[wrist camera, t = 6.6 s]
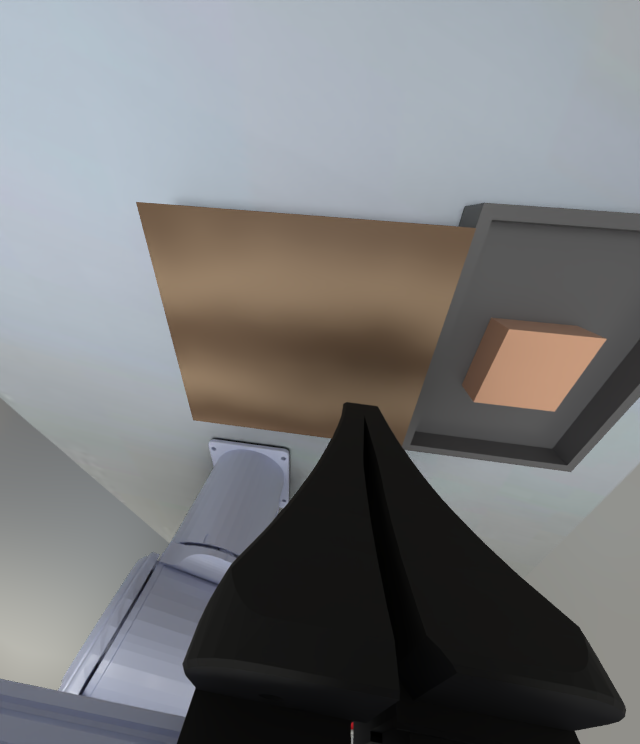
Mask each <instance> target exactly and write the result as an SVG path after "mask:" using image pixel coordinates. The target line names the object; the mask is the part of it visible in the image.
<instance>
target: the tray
mask: <svg viewBox="0 0 640 744" xmlns="http://www.w3.org/2000/svg"><path fill="white" fill-rule="evenodd" d="M459 227H469V228H476V230H475V233H474V236H473V239H472V242H471V245H470V248H469V251H468V254H467V257H466V260H465V263H464V266H463V269H462V271H461V274H460V277H459V280H458V283H457V286H456V289H455V292H454V295H453V298H452V301H451V304H450V307H449V310H448V313H447V315H446V318H445V321H444V324H443V327H442V330H441V333H440V336H439V339H438V342H437V345H436V348H435V351H434V354H433V357H432V360H431V362H430V365H429V368H428V371H427V374H426V377H425V380H424V383H423V386H422V389H421V392H420V395H419V398H418V401H417V404H416V406H415V409H414V412H413V415H412V418H411V421H410V424H409V427H408V430H407V433H406V436H405V439H404V442H403V445H402V447H403V449H404V450H410V451H417V452H425V453H432V454H440V455H447V456H455V457H463V458H470V459H478V460H485V461H493V462H500V463H508V464H515V465H523V466H530V467H538V468H545V469H553V470H560V471H568V472H571V471H572V470H573V469H574V468H575V467H576V466H577V465H578V464H579V463H580V462H581V460H582V459H583V458H584V457H585V456H586V455H587V454H588V453H589V452H590V451H591V450H592V448H593V447H594V446H595V445H596V444H597V443H598V442H599V441H600V440H601V439H602V438H603V436H604V435H605V434H606V433H607V432H608V431H609V430H610V429H611V428H612V427H613V426H614V424H615V423H616V422H617V421H618V420H619V419H620V418H621V417H622V416H623V415H624V413H625V412H626V411H627V410H628V409H629V408H630V407H631V406H632V405H633V404H634V403H635V401H636V400H637V399H638V398H639V397H640V214H635V213H621V212H607V211H592V210H578V209H564V208H550V207H535V206H521V205H507V204H493V203H481V204H476V205H470V206H465V208H464V211H463V214H462V218H461V221H460V224H459ZM491 318H500V319H511V320H521V321H532V322H542V323H553V324H563V325H573V326H579V327H581V328H583V329H586V330H588V331H590V332H593V333H595V334H597V335H599V336H602V337H604V338H606V339H607V340H606V341H605V342H604V344H603V345H602V347H601V348H600V349H599V351H598V352H597V353H596V355H595V356H594V358H593V359H592V360H591V362H590V363H589V365H588V366H587V367H586V369H585V370H584V372H583V373H582V374H581V376H580V377H579V378H578V380H577V381H576V383H575V384H574V385H573V387H572V388H571V390H570V391H569V392H568V394H567V395H566V397H565V398H564V399H563V401H562V402H561V404H560V405H559V406H558V408H557V409H556V410H555V412H554V411H545V410H537V409H528V408H519V407H511V406H502V405H494V404H485V403H477V402H473V401H472V399H471V398H470V396H469V395H468V393H467V392H466V391H465V389H464V388H463V386H462V383H463V381H464V379H465V377H466V374H467V372H468V370H469V367H470V365H471V363H472V360H473V358H474V356H475V354H476V351H477V349H478V347H479V344H480V342H481V340H482V338H483V335H484V333H485V331H486V328H487V326H488V324H489V322H490V319H491Z"/></svg>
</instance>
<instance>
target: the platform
mask: <svg viewBox="0 0 640 744" xmlns="http://www.w3.org/2000/svg"><path fill="white" fill-rule="evenodd" d="M136 204H137V207H138V211H139V215H140V219H141V223H142V226H143V230H144V234H145V238H146V242H147V245H148V249H149V253H150V257H151V261H152V265H153V268H154V272H155V276H156V280H157V284H158V287H159V291H160V295H161V299H162V303H163V307H164V310H165V314H166V318H167V322H168V326H169V329H170V333H171V337H172V341H173V345H174V349H175V352H176V356H177V360H178V364H179V368H180V371H181V375H182V379H183V383H184V387H185V391H186V394H187V398H188V402H189V406H190V410H191V413H192V417H193V420H196V421H204V422H211V423H219V424H226V425H234V426H241V427H249V428H256V429H264V430H271V431H279V432H287V433H294V434H302V435H309V436H317V437H324V438H332V437H333V435H334V432H335V430H336V428H337V426H338V423H339V421H340V418H341V415H342V409H343V404H344V403H346V402H350V403H358V404H365V405H373V406H378V408H379V409H380V411H381V413H382V414H383V416H384V418H385V420H386V422H387V423H388V425H389V427H390V428H391V430H392V432H393V433H394V435H395V437H396V438H397V440H398V441H399V443H400V444H401V446H402V445H403V442H404V439H405V436H406V433H407V430H408V427H409V424H410V421H411V418H412V415H413V412H414V409H415V406H416V404H417V401H418V398H419V395H420V392H421V389H422V386H423V383H424V380H425V377H426V374H427V371H428V368H429V365H430V362H431V360H432V357H433V354H434V351H435V348H436V345H437V342H438V339H439V336H440V333H441V330H442V327H443V324H444V321H445V318H446V315H447V313H448V310H449V307H450V304H451V301H452V298H453V295H454V292H455V289H456V286H457V283H458V280H459V277H460V274H461V271H462V269H463V266H464V263H465V260H466V257H467V254H468V251H469V248H470V245H471V242H472V239H473V236H474V233H475V230H476V228H469V227H456V226H443V225H429V224H416V223H403V222H390V221H377V220H364V219H351V218H338V217H325V216H312V215H298V214H285V213H272V212H259V211H246V210H233V209H220V208H207V207H194V206H181V205H168V204H154V203H141V202H136Z"/></svg>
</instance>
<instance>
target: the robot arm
mask: <svg viewBox="0 0 640 744" xmlns="http://www.w3.org/2000/svg"><path fill="white" fill-rule="evenodd" d="M208 445H209V449H210V453H211V457H212V462H213V466H214V468H213V470H212V471H211V473H210V475H209V477H208V478H207V480H206V482H205V484H204V485H203V487H202V489H201V491H200V492H199V494H198V496H197V497H196V499H195V501H194V503H193V504H192V506H191V508H190V510H189V511H188V513H187V515H186V517H185V518H184V520H183V522H182V523H181V525H180V527H179V529H178V530H177V532H176V534H175V536H174V537H173V539H172V541H171V542H170V543H169V545H168V546H167V548H166V549H165V551H164V552H163V554H162V555H161V557H160V558H159V560H158V561H157V559H158V557H159V554H157V553H155V552H152V553H150V554H149V555H148V556H145V557H143V558H141V559H139V560H138V561H137V563H136V564H135V565H134V567H133V568H132V570H131V571H130V573H129V575H128V576H127V577H126V579H125V580H124V582H123V583H122V585H121V586H120V588H119V590H118V591H117V593H116V594H115V596H114V597H113V599H112V600H111V602H110V603H109V605H108V607H107V608H106V610H105V611H104V613H103V614H102V616H101V618H100V619H99V621H98V622H97V624H96V625H95V627H94V629H93V630H92V632H91V633H90V635H89V636H88V638H87V640H86V641H85V643H84V644H83V646H82V648H81V649H80V651H79V652H78V654H77V656H76V657H75V659H74V660H73V662H72V664H71V665H70V667H69V669H68V670H67V672H66V674H65V675H64V677H63V679H62V685H61V686H60V688H59V690H58V691H57V690H52V689H47V688H42V687H38V686H33V685H28V684H23V683H18V682H13V681H9V680H4V679H0V744H351V723H352V722H353V744H580V742H579V740H578V738H577V736H576V733H575V730H581V729H586V728H591V727H597V726H603V725H608V724H612V723H615V722H619V721H620V720H622V719H623V718H624V717H625V712H626V709H625V705H624V703H623V701H622V699H621V698H620V696H619V694H618V692H617V691H616V689H615V687H614V685H613V684H612V682H611V680H610V678H609V677H608V675H607V673H606V671H605V670H604V668H603V666H602V664H601V663H600V661H599V659H598V657H597V656H596V654H595V652H594V651H593V649H592V647H591V646H590V644H589V642H588V641H587V639H586V637H585V636H584V634H583V633H582V631H581V629H580V628H579V627H578V626H577V625H576V624H575V623H574V622H573V621H571V620H570V619H569V618H568V617H567V616H565V615H564V614H563V613H562V612H561V611H560V610H559V609H557V608H556V607H555V606H554V605H553V604H552V603H550V602H549V601H548V600H547V599H546V598H545V597H543V596H542V595H541V594H540V593H539V592H538V591H536V590H535V589H534V588H533V587H532V586H531V585H529V584H528V583H527V582H526V581H525V580H524V579H522V578H521V577H520V576H519V575H518V574H517V573H516V572H515V571H514V570H512V569H511V568H510V567H509V566H508V565H507V564H506V563H505V562H504V561H503V560H502V559H501V558H500V557H499V556H497V555H496V554H495V553H494V552H493V551H492V550H491V549H490V548H489V547H488V546H487V545H486V544H485V543H484V542H483V541H482V540H481V539H480V538H479V537H478V536H477V535H476V534H475V533H474V532H473V531H472V530H471V529H470V528H469V527H468V526H467V525H466V524H465V523H464V522H463V521H462V520H461V519H460V518H459V517H458V516H457V515H456V514H455V513H454V512H453V511H452V510H451V508H450V507H449V506H448V505H447V504H446V503H445V502H444V501H443V500H442V499H441V497H440V496H439V495H438V494H437V493H436V491H435V490H434V489H433V488H432V487H431V485H430V484H429V483H428V482H427V481H426V479H425V478H424V477H423V475H422V474H421V473H420V471H419V470H418V469H417V467H416V466H415V465H414V463H413V462H412V461H411V459H410V458H409V456H408V455H407V453H406V452H405V451H404V449H403V447H402V446H401V444H400V443H399V441H398V440H397V438H396V437H395V435H394V433H393V432H392V430H391V428H390V427H389V425H388V423H387V422H386V420H385V418H384V416H383V414H382V413H381V411H380V409H379V408H378V406H373V405H365V404H358V403H350V402H346V403H344V404H343V409H342V415H341V418H340V421H339V423H338V426H337V428H336V430H335V432H334V435H333V437H332V439H331V441H330V442H329V444H328V446H327V448H326V450H325V451H324V453H323V455H322V457H321V458H320V460H319V461H318V463H317V465H316V466H315V468H314V469H313V471H312V472H311V474H310V475H309V476H308V478H307V479H306V481H305V482H304V483H303V485H302V486H301V487H300V489H299V490H298V491H297V493H296V494H295V495H294V496H293V498H292V499H291V500H290V501H289V451H288V450H287V449H283V448H275V447H268V446H261V445H254V444H246V443H239V442H232V441H224V440H217V439H211V440H210V442H209V443H208ZM279 508H283V509H282V511H281V512H280V513H279V514H278V511H279Z"/></svg>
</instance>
